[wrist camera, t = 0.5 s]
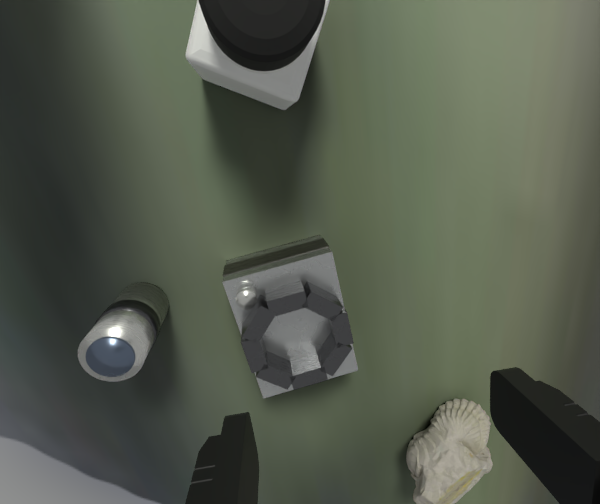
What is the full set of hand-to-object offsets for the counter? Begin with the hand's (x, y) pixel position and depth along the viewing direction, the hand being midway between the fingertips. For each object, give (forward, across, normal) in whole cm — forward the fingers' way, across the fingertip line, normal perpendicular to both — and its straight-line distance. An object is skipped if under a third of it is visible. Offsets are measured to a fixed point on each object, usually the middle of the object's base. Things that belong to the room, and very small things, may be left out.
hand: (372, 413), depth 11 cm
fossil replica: (+25, -13, +25) cm, 38 cm away
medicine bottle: (+21, +2, -17) cm, 27 cm away
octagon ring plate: (+22, +2, +5) cm, 23 cm away
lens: (+21, +16, +2) cm, 27 cm away
